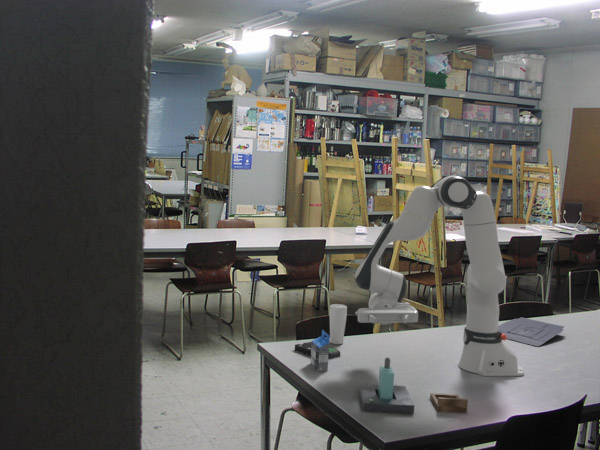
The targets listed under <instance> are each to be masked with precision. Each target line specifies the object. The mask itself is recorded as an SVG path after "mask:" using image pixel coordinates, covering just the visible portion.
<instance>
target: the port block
mask: <svg viewBox="0 0 600 450" xmlns="http://www.w3.org/2000/svg"><path fill="white" fill-rule="evenodd" d="M378 386H379V384H371V383H369V384H368V383H358V394H359V395H358V396H359V399H360V403H361V407H362V411H363V412H366V413H367V412H369V413H386V414H387V413H389V414H408V415H409V414H411V415H414V414H415V404H414V402H413V400H412V398H411V395H410V394H409V391H408V388H407V386H406V385H394V384H393V399H378Z"/></svg>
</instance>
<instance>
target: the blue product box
mask: <svg viewBox="0 0 600 450" xmlns="http://www.w3.org/2000/svg"><path fill="white" fill-rule="evenodd" d="M311 342H312V345H311V357H310V364H311V366H313V368H314V369H315V370H316V371H317V372H328V371H329V369H328V367H329V359H328V354H329V347H330V334H328V333H327V332H326V331H325V330H324V329H322V330H321V336H319V337H317V338H315V339H313V340H311Z"/></svg>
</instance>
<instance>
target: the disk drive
mask: <svg viewBox="0 0 600 450" xmlns="http://www.w3.org/2000/svg"><path fill="white" fill-rule="evenodd" d="M311 345H312V341H310V342H308V341H307V342H303V343H302V344H301V343H298V344H294V351H295V352H298V353H300V354H303V355H305V356H308V357H310V358H311ZM340 357H341V351H340V350H339V349H337V348H334V347H332V346H329V354H328V360H330V359H335V358H340Z"/></svg>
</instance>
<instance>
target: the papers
mask: <svg viewBox="0 0 600 450" xmlns="http://www.w3.org/2000/svg"><path fill="white" fill-rule="evenodd" d="M564 328H565V326H564V325H563V326H562V325H559V324H554V323H549V322H544V321H540V320H535V319H530V318H526V317H519V318H517V317H516V318H514V319H510V320H507V321H505V322H503V323H501V324H498V331H499V332H501V333H502V334H505V335H506V336H507V339H506V340H513V341H515V342H519V343H522V344H527V345H531V346H535V347H539V346H542V345H543V344H545V343H547V341H549V340H551V339H552V338H554V337H555V336H558V335H559V334H561V333H563V331H564V330H565V329H564Z"/></svg>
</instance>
